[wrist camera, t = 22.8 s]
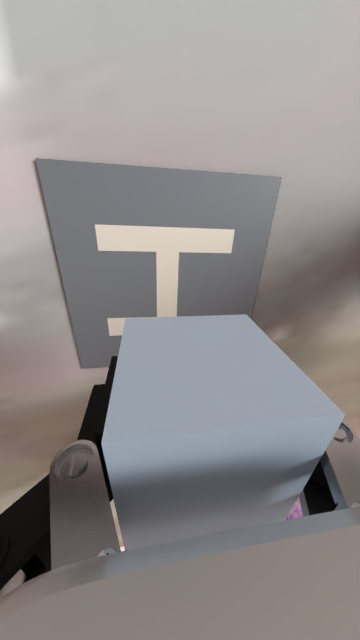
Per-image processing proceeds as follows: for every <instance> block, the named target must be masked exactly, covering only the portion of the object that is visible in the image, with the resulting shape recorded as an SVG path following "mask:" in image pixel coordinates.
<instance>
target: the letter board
mask: <svg viewBox="0 0 360 640" xmlns="http://www.w3.org/2000/svg"><path fill="white" fill-rule="evenodd" d="M35 159H36V164H37V168H38V173H39V177H40V182H41V186H42V191H43V195H44V200H45V204H46V209H47V214H48V218H49V223H50V227H51V232H52V236H53V241H54V245H55V250H56V254H57V259H58V263H59V268H60V272H61V277H62V281H63V286H64V290H65V295H66V299H67V304H68V309H69V313H70V318H71V322H72V327H73V331H74V336H75V340H76V345H77V349H78V354H79V358H80V363H81V367H82V368H100V367H109V366H110V362H111V358H112V356H118V354H119V349H120V344H121V339H122V334H123V328H124V323H125V319H127V318H156V317H185V316H213V315H242V314H246V315H247V316H248V317H249V318H250V319H251V316H252V311H253V307H254V302H255V298H256V293H257V289H258V284H259V279H260V275H261V270H262V266H263V261H264V257H265V252H266V247H267V243H268V238H269V234H270V229H271V225H272V220H273V216H274V211H275V206H276V202H277V197H278V193H279V188H280V184H281V179H282V177H273V176H260V175H247V174H234V173H221V172H208V171H195V170H181V169H168V168H155V167H142V166H129V165H116V164H103V163H90V162H77V161H64V160H51V159H38V158H35Z"/></svg>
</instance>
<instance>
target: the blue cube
mask: <svg viewBox="0 0 360 640" xmlns="http://www.w3.org/2000/svg"><path fill="white" fill-rule="evenodd" d="M344 417H345V414H344V413H343V412H342V411H341V410H340V409H339V408H338V407H337V406H336V405H335V404H334V403H333V402H332V401H331V400H330V399H329V397H328V396H327V395H326V394H325V393H324V392H323V391H322V390H321V389H320V388H319V387H318V386H317V385H316V384H315V383H314V382H313V381H312V380H311V379H310V378H309V377H308V376H307V375H306V374H305V373H304V372H303V371H302V370H301V369H300V368H299V367H298V366H297V365H296V364H295V363H294V362H293V361H292V360H291V359H290V358H289V357H288V356H287V355H286V354H285V353H284V352H283V351H282V350H281V349H280V348H279V347H278V346H277V345H276V344H275V343H274V342H273V341H272V340H271V339H270V338H269V337H268V336H267V335H266V334H265V333H264V332H263V331H262V330H261V329H260V328H259V327H258V326H257V325H256V324H255V323H254V322H253V321H252V320H251V319H250V318H249V317H248V316H247V315H246V314H242V315H213V316H185V317H156V318H127V319H125V323H124V328H123V334H122V339H121V344H120V349H119V354H118V359H117V365H116V370H115V375H114V380H113V385H112V391H111V396H110V401H109V406H108V411H107V416H106V422H105V427H104V432H103V437H102V442H101V445H102V449H103V454H104V458H105V463H106V467H107V472H108V476H109V480H110V485H111V489H112V494H113V498H114V503H115V507H116V512H117V516H118V521H119V525H120V530H121V534H122V539H123V543H124V547H125V551H127V550H132V549H136V548H141V547H146V546H151V545H156V544H161V543H166V542H172V541H177V540H182V539H187V538H192V537H197V536H203V535H208V534H213V533H218V532H223V531H229V530H234V529H239V528H245V527H250V526H255V525H261V524H266V523H271V522H277V521H282V520H285V519H286V518H287V516H288V514H289V513H290V511H291V509H292V507H293V506H294V504H295V502H296V500H297V499H298V497H299V495H300V493H301V492H302V490H303V488H304V487H305V485H306V483H307V481H308V480H309V478H310V476H311V474H312V473H313V471H314V469H315V467H316V466H317V464H318V462H319V460H320V459H321V457H322V455H323V454H324V452H325V450H326V448H327V447H328V445H329V443H330V441H331V440H332V438H333V436H334V434H335V433H336V431H337V429H338V428H339V426H340V424H341V422H342V421H343V419H344Z"/></svg>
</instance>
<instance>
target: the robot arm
mask: <svg viewBox="0 0 360 640" xmlns="http://www.w3.org/2000/svg"><path fill="white" fill-rule="evenodd" d="M117 359H118V356H112V358H111V362H110V366H109V370H108V375H107V379H106V383H105V384H101V385H94V387H93V390H92V393H91V396H90V400H89V403H88V406H87V409H86V413H85V416H84V419H83V423H82V426H81V429H80V433H79V436H78V439H77V441H74V442H71V443H70V444H68V445H66V446H65V447H64V448H62V449H61V450H60V451H59V452H58V453H57V455H56V456H55V457H54V459H53V461H52V463H51V465H50V471H49V474H48V475H47V476H46V477H45V478H44V479H42V480H41V481H40V482H39V483H38V484H36V485H35V486H34V487H33V488H32V489H30V490H29V491H28V492H27V493H26V494H24V495H23V496H22V497H21V498H20V499H18V500H17V501H16V502H15V503H14V504H12V505H11V506H10V507H9V508H8V509H6V510H5V511H4V512H3V513H2V514H0V640H360V439H359V437H358V435H357V434H356V432H355V431H354V429H353V428H352V427H351V426H350V425H349V424H348V423H346V422H345V421H342V422H341V424H340V426H339V428H338V429H337V431H336V433H335V434H334V436H333V438H332V440H331V441H330V443H329V445H328V447H327V448H326V450H325V452H324V454H323V455H322V457H321V459H320V460H319V462H318V464H317V466H316V467H315V469H314V471H313V473H312V474H311V476H310V478H309V480H308V481H307V483H306V485H305V487H304V488H303V490H302V492H301V493H300V495H299V500H300V504H301V509H302V513H303V517H298V518H293V519H287V520H282V521H277V522H271V523H266V524H261V525H255V526H250V527H245V528H239V529H234V530H229V531H223V532H218V533H213V534H208V535H203V536H197V537H192V538H187V539H182V540H177V541H172V542H166V543H161V544H156V545H151V546H146V547H141V548H136V549H132V550H127V551H122V552H121V550H120V546H119V541H118V537H117V532H116V528H115V523H114V519H113V515H112V510H111V506H110V502H111V500H112V499H113V494H112V489H111V485H110V480H109V476H108V472H107V467H106V463H105V458H104V454H103V449H102V445H101V442H102V437H103V432H104V427H105V422H106V416H107V411H108V406H109V401H110V396H111V391H112V385H113V380H114V375H115V370H116V365H117Z"/></svg>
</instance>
